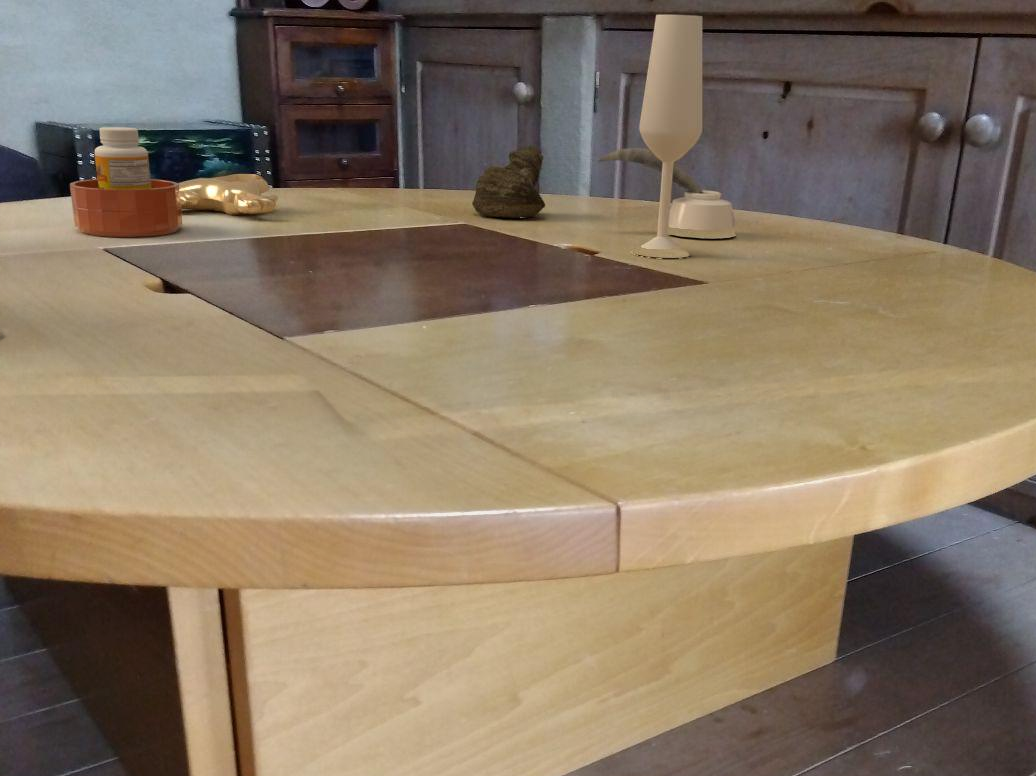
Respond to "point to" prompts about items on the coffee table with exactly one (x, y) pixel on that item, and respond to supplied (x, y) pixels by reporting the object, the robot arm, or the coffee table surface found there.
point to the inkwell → (697, 204)
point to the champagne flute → (672, 104)
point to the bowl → (126, 209)
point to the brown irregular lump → (511, 187)
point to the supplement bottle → (121, 160)
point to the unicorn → (227, 194)
